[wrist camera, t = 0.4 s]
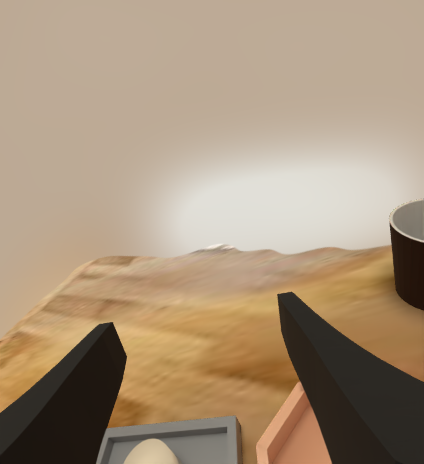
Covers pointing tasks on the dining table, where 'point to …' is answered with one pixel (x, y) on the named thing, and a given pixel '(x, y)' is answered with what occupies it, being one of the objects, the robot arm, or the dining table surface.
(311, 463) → the bowl
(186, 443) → the parts tray
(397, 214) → the coffee mug
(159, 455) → the sandy stone
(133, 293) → the dining table surface
